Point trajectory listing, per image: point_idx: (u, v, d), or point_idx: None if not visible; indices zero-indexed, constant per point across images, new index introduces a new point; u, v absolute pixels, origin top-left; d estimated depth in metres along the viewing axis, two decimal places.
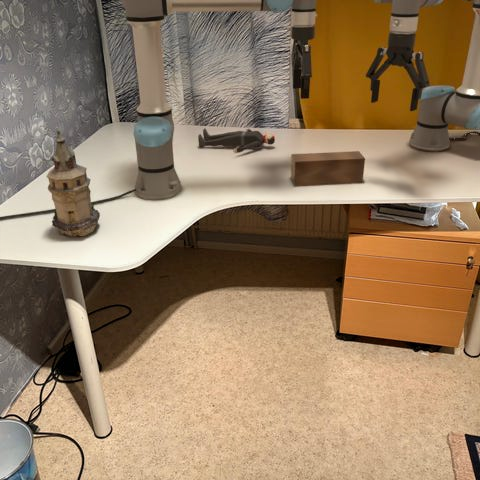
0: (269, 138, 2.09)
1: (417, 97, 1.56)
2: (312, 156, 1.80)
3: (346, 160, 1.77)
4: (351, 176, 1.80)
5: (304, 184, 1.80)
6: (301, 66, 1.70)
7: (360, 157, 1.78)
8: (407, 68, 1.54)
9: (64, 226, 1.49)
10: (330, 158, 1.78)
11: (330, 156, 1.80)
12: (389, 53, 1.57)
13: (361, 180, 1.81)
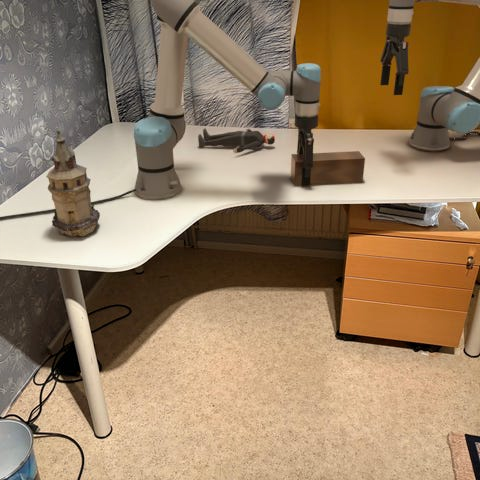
0: (269, 138, 2.09)
1: None
2: None
3: (346, 160, 1.77)
4: (351, 176, 1.80)
5: None
6: (303, 155, 1.75)
7: (360, 157, 1.78)
8: None
9: (64, 226, 1.49)
10: (330, 158, 1.78)
11: (330, 156, 1.80)
12: None
13: (361, 180, 1.81)
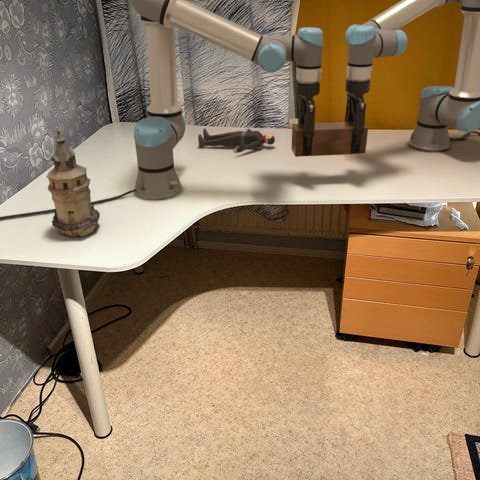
0: (269, 138, 2.09)
1: None
2: None
3: (349, 129, 1.72)
4: None
5: None
6: (304, 124, 1.70)
7: None
8: None
9: (64, 226, 1.49)
10: (332, 127, 1.73)
11: (332, 125, 1.75)
12: None
13: (364, 151, 1.76)
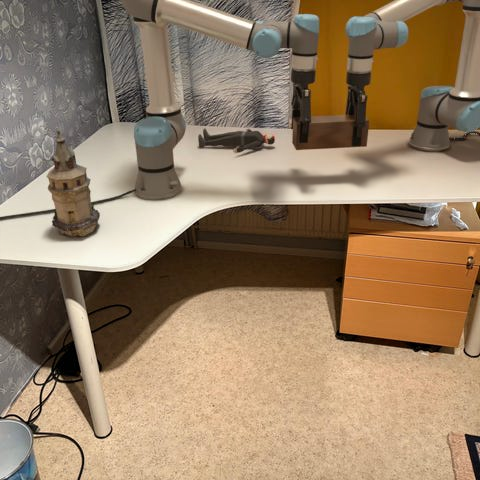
0: (269, 138, 2.09)
1: None
2: (314, 118, 1.74)
3: (350, 122, 1.71)
4: None
5: (306, 148, 1.74)
6: (300, 110, 1.66)
7: None
8: None
9: (64, 226, 1.49)
10: (333, 120, 1.72)
11: (333, 118, 1.73)
12: None
13: (365, 144, 1.75)
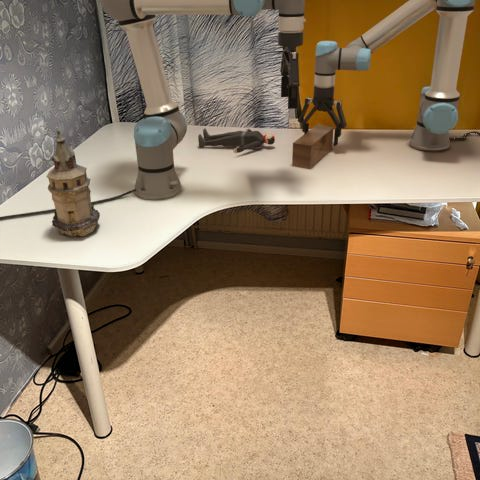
0: (269, 138, 2.09)
1: None
2: (306, 138, 1.96)
3: (328, 132, 2.02)
4: (328, 145, 2.07)
5: (313, 164, 1.96)
6: (288, 74, 1.60)
7: (331, 127, 2.06)
8: None
9: (64, 226, 1.49)
10: (319, 135, 1.99)
11: (315, 134, 2.00)
12: None
13: (331, 147, 2.10)
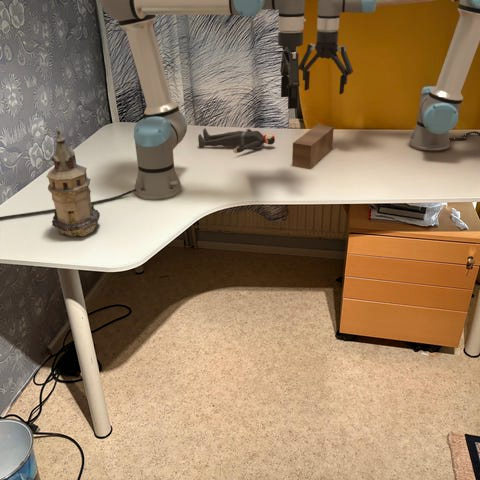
0: (269, 138, 2.09)
1: None
2: (306, 138, 1.96)
3: (328, 132, 2.02)
4: (328, 145, 2.07)
5: (313, 164, 1.96)
6: (288, 74, 1.60)
7: (331, 127, 2.06)
8: None
9: (64, 226, 1.49)
10: (319, 135, 1.99)
11: (315, 134, 2.00)
12: None
13: (331, 147, 2.10)
